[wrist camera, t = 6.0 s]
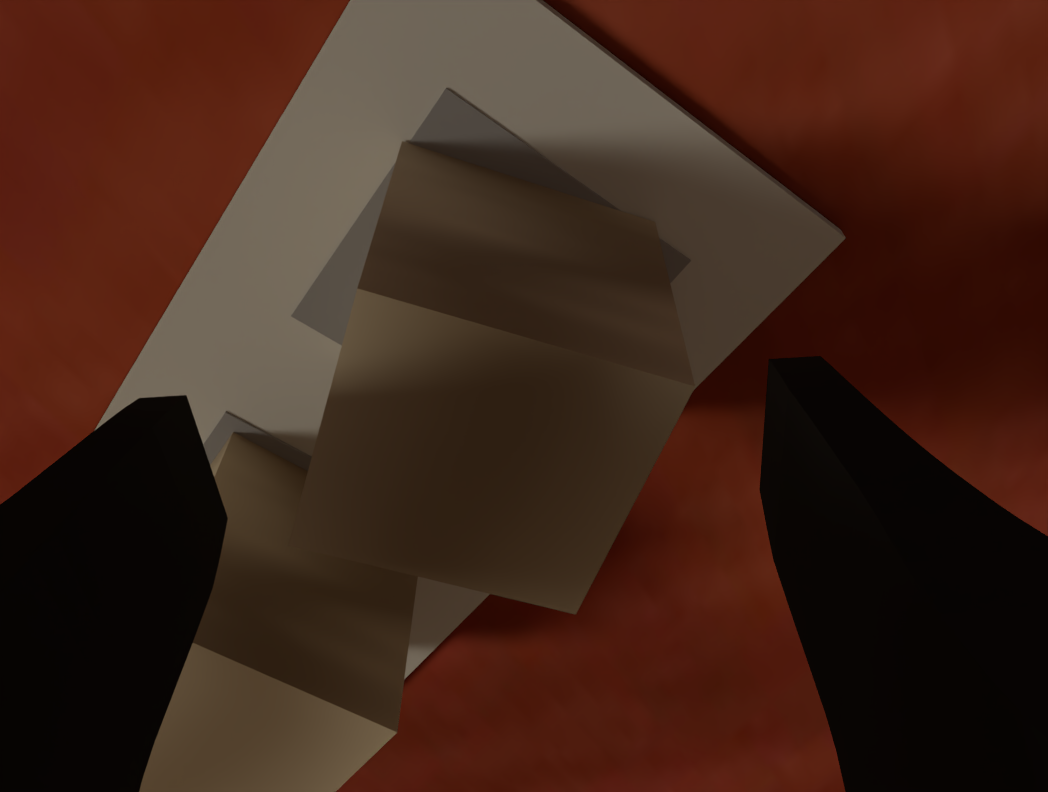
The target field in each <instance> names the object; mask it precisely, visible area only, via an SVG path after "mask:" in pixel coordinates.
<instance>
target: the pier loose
mask: <svg viewBox="0 0 1048 792" xmlns="http://www.w3.org/2000/svg"><path fill="white" fill-rule="evenodd" d="M694 388H695V383H694V379H693V375H692V371H691V367H690V363H689V359H688V355H687V351H686V346H685V342H684V338H683V334H682V330H681V326H680V322H679V318H678V314H677V309H676V305H675V301H674V297H673V293H672V289H671V285H670V281H669V277H668V272H667V268H666V264H665V260H664V256H663V252H662V248H661V244H660V240H659V236H658V231H657V227H656V223H655V222H653V221H650V220H647V219H644V218H641V217H638V216H635V215H632V214H628V213H625V212H622V211H619V210H616V209H613V208H610V207H607V206H603V205H600V204H597V203H594V202H591V201H588V200H585V199H582V198H578V197H575V196H572V195H569V194H566V193H563V192H560V191H557V190H553V189H550V188H547V187H544V186H541V185H538V184H535V183H532V182H528V181H525V180H522V179H519V178H516V177H513V176H510V175H507V174H503V173H500V172H497V171H494V170H491V169H488V168H485V167H481V166H478V165H475V164H472V163H469V162H466V161H463V160H460V159H456V158H453V157H450V156H447V155H444V154H441V153H438V152H435V151H431V150H428V149H425V148H422V147H419V146H416V145H413V144H410V143H406V142H403V141H402V143H401V146H400V150H399V153H398V156H397V159H396V163H395V166H394V169H393V173H392V176H391V179H390V183H389V186H388V189H387V192H386V196H385V199H384V202H383V206H382V209H381V212H380V215H379V219H378V222H377V225H376V229H375V232H374V235H373V238H372V242H371V245H370V248H369V252H368V255H367V258H366V261H365V265H364V268H363V271H362V275H361V278H360V281H359V284H358V288H357V291H356V295H355V299H354V302H353V306H352V310H351V313H350V317H349V321H348V325H347V328H346V332H345V336H344V339H343V343H342V347H341V351H340V354H339V358H338V362H337V365H336V369H335V373H334V376H333V380H332V384H331V388H330V391H329V395H328V399H327V402H326V406H325V410H324V413H323V417H322V421H321V425H320V428H319V432H318V436H317V439H316V443H315V447H314V451H313V454H312V458H311V462H310V465H309V469H308V473H307V476H306V480H305V484H304V488H303V491H302V495H301V499H300V502H299V506H298V510H297V514H296V517H295V521H294V525H293V528H292V532H291V536H290V539H289V543H288V545H289V546H293V547H297V548H301V549H306V550H310V551H314V552H318V553H322V554H326V555H330V556H335V557H339V558H343V559H347V560H351V561H355V562H360V563H364V564H368V565H372V566H376V567H380V568H385V569H389V570H393V571H397V572H401V573H405V574H409V575H414V576H418V577H422V578H426V579H430V580H434V581H439V582H443V583H447V584H451V585H455V586H459V587H463V588H468V589H472V590H476V591H480V592H484V593H488V594H493V595H497V596H501V597H505V598H509V599H513V600H517V601H522V602H526V603H530V604H534V605H538V606H542V607H547V608H551V609H555V610H559V611H563V612H567V613H571V614H576V613H577V611H578V609H579V607H580V605H581V603H582V602H583V600H584V598H585V596H586V594H587V592H588V590H589V588H590V586H591V584H592V582H593V581H594V579H595V577H596V575H597V573H598V571H599V569H600V567H601V565H602V563H603V562H604V560H605V558H606V556H607V554H608V552H609V550H610V548H611V546H612V544H613V542H614V541H615V539H616V537H617V535H618V533H619V531H620V529H621V527H622V525H623V523H624V522H625V520H626V518H627V516H628V514H629V512H630V510H631V508H632V506H633V504H634V502H635V501H636V499H637V497H638V495H639V493H640V491H641V489H642V487H643V485H644V483H645V481H646V480H647V478H648V476H649V474H650V472H651V470H652V468H653V466H654V464H655V462H656V461H657V459H658V457H659V455H660V453H661V451H662V449H663V447H664V445H665V443H666V441H667V440H668V438H669V436H670V434H671V432H672V430H673V428H674V426H675V424H676V422H677V421H678V419H679V417H680V415H681V413H682V411H683V409H684V407H685V405H686V403H687V401H688V400H689V398H690V396H691V394H692V392H693V390H694Z"/></svg>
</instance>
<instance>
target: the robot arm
mask: <svg viewBox="0 0 1048 792" xmlns="http://www.w3.org/2000/svg"><path fill="white" fill-rule="evenodd" d="M760 494H761V499H762V504H763V510H764V515H765V520H766V526H767V531H768V535H769V540H770V545H771V550H772V555H773V560H774V563H775V566H776V569H777V572H778V575H779V578H780V581H781V584H782V587H783V590H784V593H785V596H786V599H787V602H788V605H789V608H790V611H791V614H792V617H793V620H794V623H795V626H796V629H797V632H798V634H799V637H800V640H801V643H802V646H803V649H804V652H805V655H806V658H807V661H808V664H809V667H810V670H811V673H812V675H813V678H814V681H815V684H816V687H817V690H818V693H819V696H820V699H821V702H822V705H823V708H824V711H825V714H826V717H827V720H828V724H829V727H830V731H831V734H832V737H833V741H834V744H835V748H836V751H837V756H838V760H839V765H840V769H841V773H842V778H843V782H844V787H845V791H846V792H1048V536H1046V535H1045V534H1043V533H1041V532H1040V531H1038V530H1037V529H1035V528H1033V527H1032V526H1030V525H1029V524H1027V523H1025V522H1024V521H1022V520H1021V519H1019V518H1017V517H1016V516H1014V515H1013V514H1011V513H1010V512H1009V511H1007V510H1006V509H1004V508H1003V507H1001V506H1000V505H998V504H997V503H995V502H994V501H992V500H991V499H990V498H988V497H987V496H986V495H984V494H983V493H981V492H980V491H979V490H977V489H976V488H975V487H973V486H972V485H971V484H969V483H968V482H967V481H965V480H964V479H963V478H961V477H960V476H958V475H957V474H956V473H954V472H953V471H952V470H950V469H949V468H948V467H947V466H945V465H944V464H943V463H942V462H940V461H939V460H938V459H936V458H935V457H934V456H933V455H931V454H930V453H929V452H928V451H927V450H925V449H924V448H923V447H922V446H920V445H919V444H918V443H917V442H916V441H914V440H913V439H912V438H911V437H910V436H909V435H907V434H906V433H905V432H904V431H903V430H901V429H900V428H899V427H898V426H897V425H896V424H894V423H893V422H892V421H891V420H890V419H889V418H888V417H886V416H885V415H884V414H883V413H882V412H881V411H880V410H879V409H878V408H876V407H875V406H874V405H873V404H872V403H871V402H870V401H869V400H868V399H867V398H865V397H864V396H863V395H862V394H861V393H860V392H859V391H858V390H857V389H856V388H855V387H853V386H852V385H851V384H850V383H849V382H848V381H847V380H846V379H845V378H844V377H843V376H842V375H840V374H839V373H838V372H837V371H836V370H835V369H834V368H833V367H832V366H831V365H830V364H829V363H827V362H826V361H825V360H824V359H823V358H822V357H821V356H815V357H798V358H782V359H769V365H768V379H767V394H766V408H765V422H764V436H763V450H762V464H761V478H760ZM227 521H228V517H227V514H226V511H225V508H224V505H223V502H222V499H221V496H220V493H219V490H218V487H217V484H216V481H215V478H214V475H213V472H212V469H211V466H210V463H209V460H208V457H207V455H206V452H205V449H204V446H203V443H202V440H201V437H200V434H199V431H198V428H197V425H196V422H195V419H194V416H193V413H192V410H191V407H190V404H189V401H188V398H187V395H179V396H163V397H147V398H138V399H137V400H135V401H134V402H132V403H131V404H129V405H128V406H126V407H125V408H124V409H122V410H121V411H119V412H118V413H117V414H115V415H114V416H113V417H111V418H110V419H109V420H107V421H106V422H105V423H104V424H102V425H101V426H100V427H99V428H97V429H96V430H95V431H93V432H92V433H91V434H90V435H88V436H87V437H86V438H85V439H83V440H82V441H81V442H80V443H78V444H77V445H76V446H75V447H73V448H72V449H71V450H70V451H68V452H67V453H66V454H65V455H63V456H62V457H61V458H60V459H58V460H57V461H56V462H55V463H53V464H52V465H51V466H49V467H48V468H47V469H46V470H44V471H43V472H42V473H41V474H39V475H38V476H37V477H36V478H34V479H33V480H32V481H31V482H29V483H28V484H27V485H25V486H24V487H23V488H22V489H20V490H19V491H18V492H17V493H15V494H14V495H13V496H11V497H10V498H9V499H7V500H6V501H5V502H3V503H2V504H1V505H0V792H139V791H140V787H141V783H142V779H143V776H144V773H145V770H146V767H147V764H148V761H149V758H150V755H151V752H152V749H153V746H154V743H155V740H156V737H157V735H158V732H159V729H160V727H161V724H162V722H163V719H164V716H165V714H166V711H167V709H168V706H169V703H170V701H171V698H172V696H173V693H174V690H175V688H176V685H177V682H178V680H179V677H180V675H181V672H182V669H183V667H184V664H185V662H186V659H187V656H188V654H189V651H190V649H191V646H192V643H193V641H194V638H195V635H196V633H197V630H198V627H199V625H200V622H201V619H202V616H203V614H204V611H205V608H206V606H207V603H208V600H209V597H210V594H211V592H212V589H213V585H214V581H215V577H216V573H217V568H218V564H219V560H220V556H221V551H222V546H223V541H224V536H225V531H226V526H227Z"/></svg>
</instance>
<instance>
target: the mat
mask: <svg viewBox="0 0 1048 792" xmlns="http://www.w3.org/2000/svg"><path fill="white" fill-rule="evenodd" d="M402 141H403V142H406V143H410V144H413V145H416V146H419V147H422V148H425V149H428V150H431V151H435V152H438V153H441V154H444V155H447V156H450V157H453V158H456V159H460V160H463V161H466V162H469V163H472V164H475V165H478V166H481V167H485V168H488V169H491V170H494V171H497V172H500V173H503V174H507V175H510V176H513V177H516V178H519V179H522V180H525V181H528V182H532V183H535V184H538V185H541V186H544V187H547V188H550V189H553V190H557V191H560V192H563V193H566V194H569V195H572V196H575V197H578V198H582V199H585V200H588V201H591V202H594V203H597V204H600V205H603V206H607V207H610V208H613V209H616V210H619V211H622V212H625V213H628V214H632V215H635V216H638V217H641V218H644V219H647V220H650V221H653V222H655V223H656V227H657V231H658V236H659V240H660V244H661V248H662V252H663V256H664V260H665V264H666V268H667V272H668V277H669V281H670V285H671V289H672V293H673V297H674V301H675V305H676V309H677V314H678V318H679V322H680V326H681V330H682V334H683V338H684V342H685V346H686V351H687V355H688V359H689V363H690V367H691V371H692V375H693V379H694V383H695V388H696V387H697V386H698V385H699V384H700V383H701V382H702V381H703V380H704V379H705V378H706V377H707V376H708V375H709V374H710V373H711V372H712V371H713V370H714V369H715V368H716V367H717V366H718V365H719V364H720V363H721V362H722V361H723V360H724V359H725V358H726V357H727V356H728V355H729V354H730V353H731V352H732V351H733V350H734V349H735V348H736V347H737V346H738V345H739V344H740V343H741V342H742V341H743V340H744V339H745V338H746V337H747V336H748V335H749V334H750V333H751V332H752V331H753V330H754V329H755V328H756V327H757V326H758V325H759V324H760V323H761V322H762V321H763V320H764V319H765V318H766V317H767V316H768V315H769V314H770V313H771V312H772V311H773V310H774V309H775V308H776V307H777V306H778V305H779V304H780V303H781V302H782V301H783V300H784V299H786V298H787V297H788V296H789V295H790V294H791V293H792V292H793V291H794V290H795V289H796V288H797V287H798V286H799V285H800V284H801V283H802V282H803V281H804V280H805V279H806V278H807V277H808V276H809V275H810V274H811V273H812V272H813V271H814V270H815V269H816V268H817V267H818V266H819V265H820V264H821V263H822V262H823V261H824V260H825V259H826V258H827V257H828V256H829V255H830V254H831V253H832V252H833V251H834V250H835V249H836V248H837V247H838V246H839V245H840V244H841V243H842V242H843V241H844V240H845V239H846V237H845V236H844V234H843V232H842V231H841V229H839V228H838V227H837V226H835V225H834V224H833V223H831V222H830V221H829V220H828V219H826V218H825V217H824V216H822V215H821V214H820V213H818V212H817V211H816V210H815V209H813V208H812V207H811V206H809V205H808V204H807V203H805V202H804V201H803V200H802V199H800V198H799V197H798V196H796V195H795V194H794V193H792V192H791V191H790V190H789V189H787V188H786V187H785V186H783V185H782V184H781V183H779V182H778V181H777V180H776V179H774V178H773V177H772V176H770V175H769V174H768V173H766V172H765V171H764V170H763V169H761V168H760V167H759V166H757V165H756V164H755V163H753V162H752V161H751V160H750V159H748V158H747V157H746V156H744V155H743V154H742V153H740V152H739V151H738V150H737V149H735V148H734V147H733V146H731V145H730V144H729V143H727V142H726V141H725V140H724V139H722V138H721V137H720V136H718V135H717V134H716V133H714V132H713V131H712V130H711V129H709V128H708V127H707V126H705V125H704V124H703V123H702V122H700V121H699V120H698V119H696V118H695V117H694V116H692V115H691V114H690V113H689V112H687V111H686V110H685V109H683V108H682V107H681V106H679V105H678V104H677V103H676V102H674V101H673V100H672V99H670V98H669V97H668V96H666V95H665V94H664V93H663V92H661V91H660V90H659V89H657V88H656V87H655V86H653V85H652V84H651V83H650V82H648V81H647V80H646V79H644V78H643V77H642V76H640V75H639V74H638V73H637V72H635V71H634V70H633V69H631V68H630V67H629V66H627V65H626V64H625V63H624V62H622V61H621V60H620V59H618V58H617V57H616V56H614V55H613V54H612V53H611V52H609V51H608V50H607V49H605V48H604V47H603V46H601V45H600V44H599V43H598V42H596V41H595V40H594V39H592V38H591V37H590V36H588V35H587V34H586V33H585V32H583V31H582V30H581V29H579V28H578V27H577V26H575V25H574V24H573V23H572V22H570V21H569V20H568V19H566V18H565V17H564V16H562V15H561V14H560V13H559V12H557V11H556V10H555V9H553V8H552V7H551V6H549V5H548V4H547V3H546V2H544V1H543V0H350V2H349V4H348V5H347V7H346V9H345V10H344V12H343V14H342V15H341V17H340V19H339V20H338V22H337V24H336V25H335V27H334V29H333V30H332V32H331V34H330V36H329V37H328V39H327V41H326V42H325V44H324V46H323V47H322V49H321V51H320V52H319V54H318V56H317V57H316V59H315V61H314V62H313V64H312V66H311V67H310V69H309V71H308V73H307V74H306V76H305V78H304V79H303V81H302V83H301V84H300V86H299V88H298V89H297V91H296V93H295V94H294V96H293V98H292V99H291V101H290V103H289V104H288V106H287V108H286V109H285V111H284V113H283V115H282V116H281V118H280V120H279V121H278V123H277V125H276V126H275V128H274V130H273V131H272V133H271V135H270V136H269V138H268V140H267V141H266V143H265V145H264V146H263V148H262V150H261V152H260V153H259V155H258V157H257V158H256V160H255V162H254V163H253V165H252V167H251V168H250V170H249V172H248V173H247V175H246V177H245V178H244V180H243V182H242V183H241V185H240V187H239V189H238V190H237V192H236V194H235V195H234V197H233V199H232V200H231V202H230V204H229V205H228V207H227V209H226V210H225V212H224V214H223V215H222V217H221V219H220V220H219V222H218V224H217V225H216V227H215V229H214V231H213V232H212V234H211V236H210V237H209V239H208V241H207V242H206V244H205V246H204V247H203V249H202V251H201V252H200V254H199V256H198V257H197V259H196V261H195V262H194V264H193V266H192V268H191V269H190V271H189V273H188V274H187V276H186V278H185V279H184V281H183V283H182V284H181V286H180V288H179V289H178V291H177V293H176V294H175V296H174V298H173V299H172V301H171V303H170V304H169V306H168V308H167V310H166V311H165V313H164V315H163V316H162V318H161V320H160V321H159V323H158V325H157V326H156V328H155V330H154V331H153V333H152V335H151V336H150V338H149V340H148V341H147V343H146V345H145V347H144V348H143V350H142V352H141V353H140V355H139V357H138V358H137V360H136V362H135V363H134V365H133V367H132V368H131V370H130V372H129V373H128V375H127V377H126V378H125V380H124V382H123V383H122V385H121V387H120V389H119V390H118V392H117V394H116V395H115V397H114V399H113V400H112V402H111V404H110V405H109V407H108V409H107V410H106V412H105V414H104V415H103V417H102V419H101V420H100V422H99V424H98V426H97V427H96V429H97V428H99V427H100V426H101V425H102V424H104V423H105V422H106V421H107V420H109V419H110V418H111V417H113V416H114V415H115V414H117V413H118V412H119V411H121V410H122V409H124V408H125V407H126V406H128V405H129V404H131V403H132V402H134V401H135V400H137V399H138V398H147V397H163V396H179V395H187V398H188V401H189V404H190V407H191V410H192V413H193V416H194V419H195V422H196V425H197V428H198V431H199V434H200V437H201V440H202V443H203V446H204V449H205V452H206V455H207V457H208V460H209V463H210V465H211V463H212V462H213V460H214V459H215V457H216V456H217V455H218V453H219V452H220V450H221V449H222V447H223V446H224V445H225V443H226V442H227V440H228V439H229V437H230V436H231V434H232V433H233V432H234V433H236V434H238V435H240V436H242V437H244V438H246V439H247V440H249V441H251V442H253V443H255V444H257V445H259V446H261V447H263V448H265V449H267V450H268V451H270V452H272V453H274V454H276V455H278V456H280V457H282V458H284V459H286V460H288V461H290V462H291V463H293V464H295V465H297V466H299V467H301V468H303V469H305V470H307V471H308V469H309V465H310V462H311V458H312V454H313V451H314V447H315V443H316V439H317V436H318V432H319V428H320V425H321V421H322V417H323V413H324V410H325V406H326V402H327V399H328V395H329V391H330V388H331V384H332V380H333V376H334V373H335V369H336V365H337V362H338V358H339V354H340V351H341V347H342V343H343V339H344V336H345V332H346V328H347V325H348V321H349V317H350V313H351V310H352V306H353V302H354V299H355V295H356V291H357V288H358V284H359V281H360V278H361V275H362V271H363V268H364V265H365V261H366V258H367V255H368V252H369V248H370V245H371V242H372V238H373V235H374V232H375V229H376V225H377V222H378V219H379V215H380V212H381V209H382V206H383V202H384V199H385V196H386V192H387V189H388V186H389V183H390V179H391V176H392V173H393V169H394V166H395V163H396V159H397V156H398V153H399V150H400V146H401V143H402ZM695 388H694V389H695ZM96 429H95V430H96ZM488 595H489V594H488V593H484V592H480V591H476V590H472V589H468V588H463V587H459V586H455V585H451V584H447V583H443V582H439V581H434V580H430V579H426V578H422V577H418V579H417V586H416V594H415V601H414V609H413V617H412V624H411V632H410V639H409V647H408V654H407V662H406V669H405V677H404V679H405V678H406V677H407V676H408V675H409V674H410V673H411V672H412V671H413V670H414V669H415V668H416V667H417V666H418V665H419V664H420V663H421V662H422V661H423V660H424V659H425V658H426V657H427V656H428V655H429V654H430V653H431V652H432V651H433V650H434V649H435V648H436V647H437V646H438V645H439V644H440V643H441V642H442V641H443V640H444V639H445V638H446V637H447V636H448V635H449V634H450V633H451V632H452V631H453V630H454V629H455V628H456V627H457V626H458V625H459V624H460V623H461V622H462V621H463V620H464V619H465V618H466V617H467V616H468V615H469V614H470V613H471V612H472V611H473V610H474V609H475V608H476V607H477V606H478V605H479V604H480V603H481V602H482V601H483V600H484V599H485V598H486V597H487V596H488Z"/></svg>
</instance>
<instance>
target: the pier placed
mask: <svg viewBox="0 0 1048 792" xmlns="http://www.w3.org/2000/svg"><path fill="white" fill-rule="evenodd" d="M210 466H211V469H212V472H213V475H214V478H215V481H216V484H217V487H218V490H219V493H220V496H221V499H222V502H223V505H224V508H225V511H226V514H227V517H228V521H227V526H226V531H225V536H224V541H223V546H222V551H221V556H220V560H219V564H218V568H217V573H216V577H215V581H214V585H213V589H212V592H211V594H210V597H209V600H208V603H207V606H206V608H205V611H204V614H203V616H202V619H201V622H200V625H199V627H198V630H197V633H196V635H195V638H194V641H193V643H192V646H191V649H190V651H189V654H188V656H187V659H186V662H185V664H184V667H183V669H182V672H181V675H180V677H179V680H178V682H177V685H176V688H175V690H174V693H173V696H172V698H171V701H170V703H169V706H168V709H167V711H166V714H165V716H164V719H163V722H162V724H161V727H160V729H159V732H158V735H157V737H156V740H155V743H154V746H153V749H152V752H151V755H150V758H149V761H148V764H147V767H146V770H145V773H144V776H143V779H142V783H141V787H140V791H139V792H336V791H337V790H338V789H339V788H340V787H341V786H342V785H343V784H344V783H345V782H346V781H347V780H348V779H349V778H350V777H351V776H352V775H353V774H354V773H355V772H356V771H357V770H358V769H360V768H361V767H362V766H363V765H364V764H365V763H366V762H367V761H368V760H369V759H370V758H371V757H372V756H373V755H374V754H375V753H376V752H377V751H378V750H379V749H380V748H381V747H382V746H383V745H385V744H386V743H387V742H388V741H389V740H390V739H391V738H392V737H393V736H394V735H395V734H396V733H397V730H398V722H399V715H400V707H401V700H402V692H403V685H404V677H405V669H406V662H407V654H408V647H409V639H410V632H411V624H412V617H413V609H414V601H415V594H416V586H417V579H418V576H414V575H409V574H405V573H401V572H397V571H393V570H389V569H385V568H380V567H376V566H372V565H368V564H364V563H360V562H355V561H351V560H347V559H343V558H339V557H335V556H330V555H326V554H322V553H318V552H314V551H310V550H306V549H301V548H297V547H293V546H289V545H288V543H289V539H290V536H291V532H292V528H293V525H294V521H295V517H296V514H297V510H298V506H299V502H300V499H301V495H302V491H303V488H304V484H305V480H306V476H307V473H308V471H307V470H305V469H303V468H301V467H299V466H297V465H295V464H293V463H291V462H290V461H288V460H286V459H284V458H282V457H280V456H278V455H276V454H274V453H272V452H270V451H268V450H267V449H265V448H263V447H261V446H259V445H257V444H255V443H253V442H251V441H249V440H247V439H246V438H244V437H242V436H240V435H238V434H236V433H234V432H233V433H232V434H231V436H230V437H229V439H228V440H227V442H226V443H225V445H224V446H223V447H222V449H221V450H220V452H219V453H218V455H217V456H216V457H215V459H214V460H213V462H212V463H211V465H210Z"/></svg>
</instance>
